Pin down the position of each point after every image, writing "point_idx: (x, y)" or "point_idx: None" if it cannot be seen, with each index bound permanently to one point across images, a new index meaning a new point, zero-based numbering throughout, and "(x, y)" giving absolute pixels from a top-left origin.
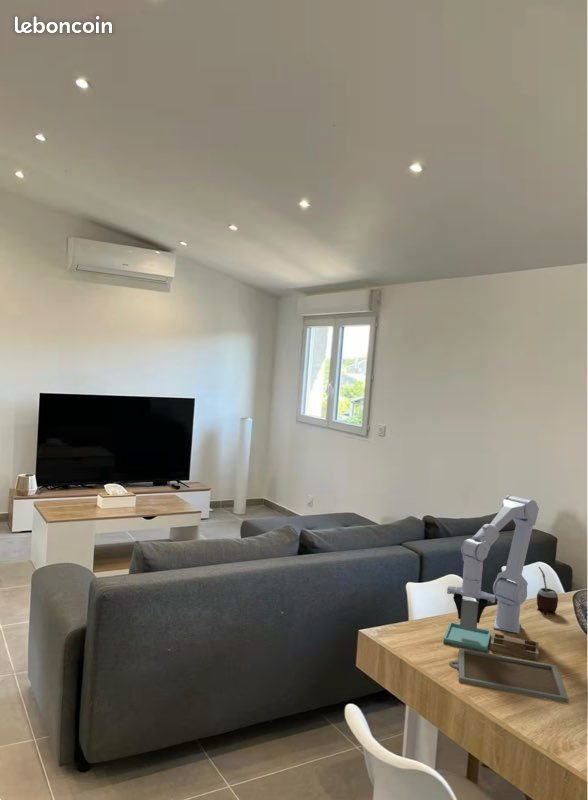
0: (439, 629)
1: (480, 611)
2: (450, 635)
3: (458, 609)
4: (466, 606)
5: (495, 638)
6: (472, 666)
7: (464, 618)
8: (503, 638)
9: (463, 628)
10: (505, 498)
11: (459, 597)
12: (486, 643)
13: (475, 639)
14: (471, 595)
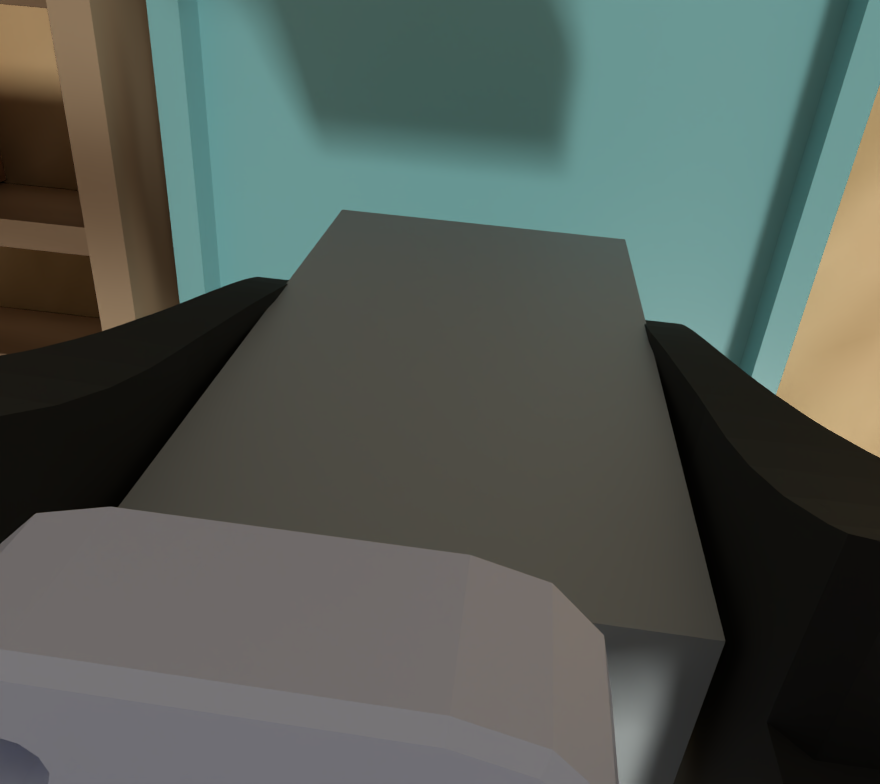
0: (875, 384)
1: (88, 355)
2: (751, 182)
3: (761, 403)
4: (525, 489)
5: (73, 225)
6: None
7: (556, 317)
8: (20, 337)
9: (558, 240)
10: None
11: (875, 769)
12: (173, 15)
13: (370, 202)
14: (24, 710)
